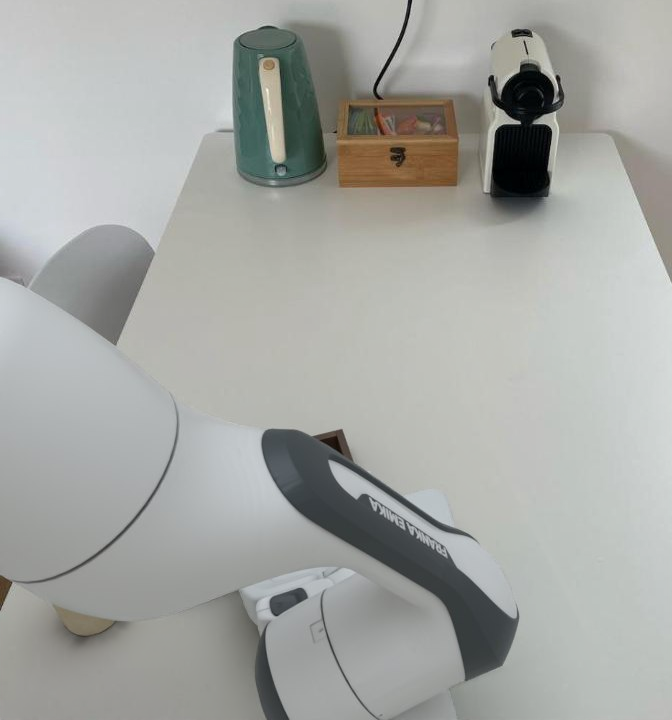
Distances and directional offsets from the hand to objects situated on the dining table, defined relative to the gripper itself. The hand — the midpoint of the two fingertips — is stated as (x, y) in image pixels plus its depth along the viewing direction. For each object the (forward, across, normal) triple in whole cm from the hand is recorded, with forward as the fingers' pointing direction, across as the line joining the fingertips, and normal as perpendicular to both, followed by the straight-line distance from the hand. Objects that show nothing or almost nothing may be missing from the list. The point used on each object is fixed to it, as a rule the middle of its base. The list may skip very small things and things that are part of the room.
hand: (326, 484), depth 78 cm
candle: (-3, +23, +6) cm, 24 cm away
